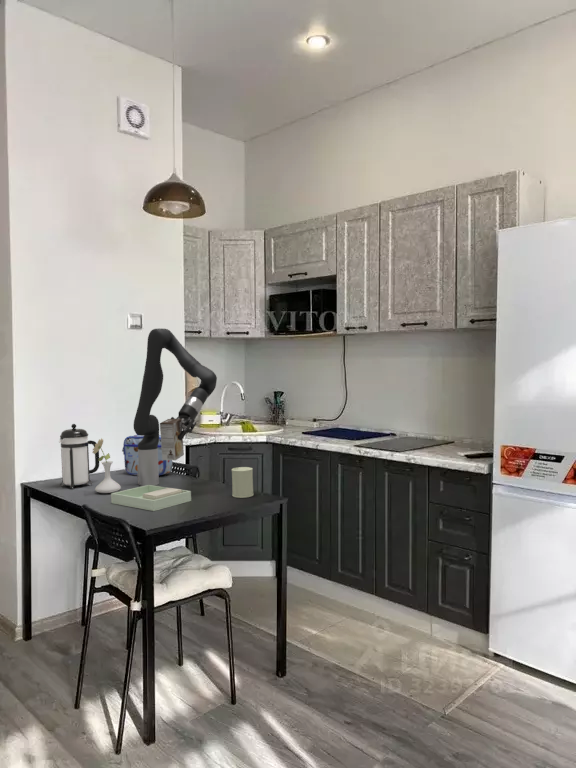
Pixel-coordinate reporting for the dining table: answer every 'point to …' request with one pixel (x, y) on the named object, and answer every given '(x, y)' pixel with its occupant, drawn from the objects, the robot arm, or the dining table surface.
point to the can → (242, 482)
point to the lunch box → (132, 456)
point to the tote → (135, 499)
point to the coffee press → (76, 457)
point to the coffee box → (171, 439)
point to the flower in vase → (107, 483)
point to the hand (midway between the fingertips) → (172, 438)
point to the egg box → (161, 493)
